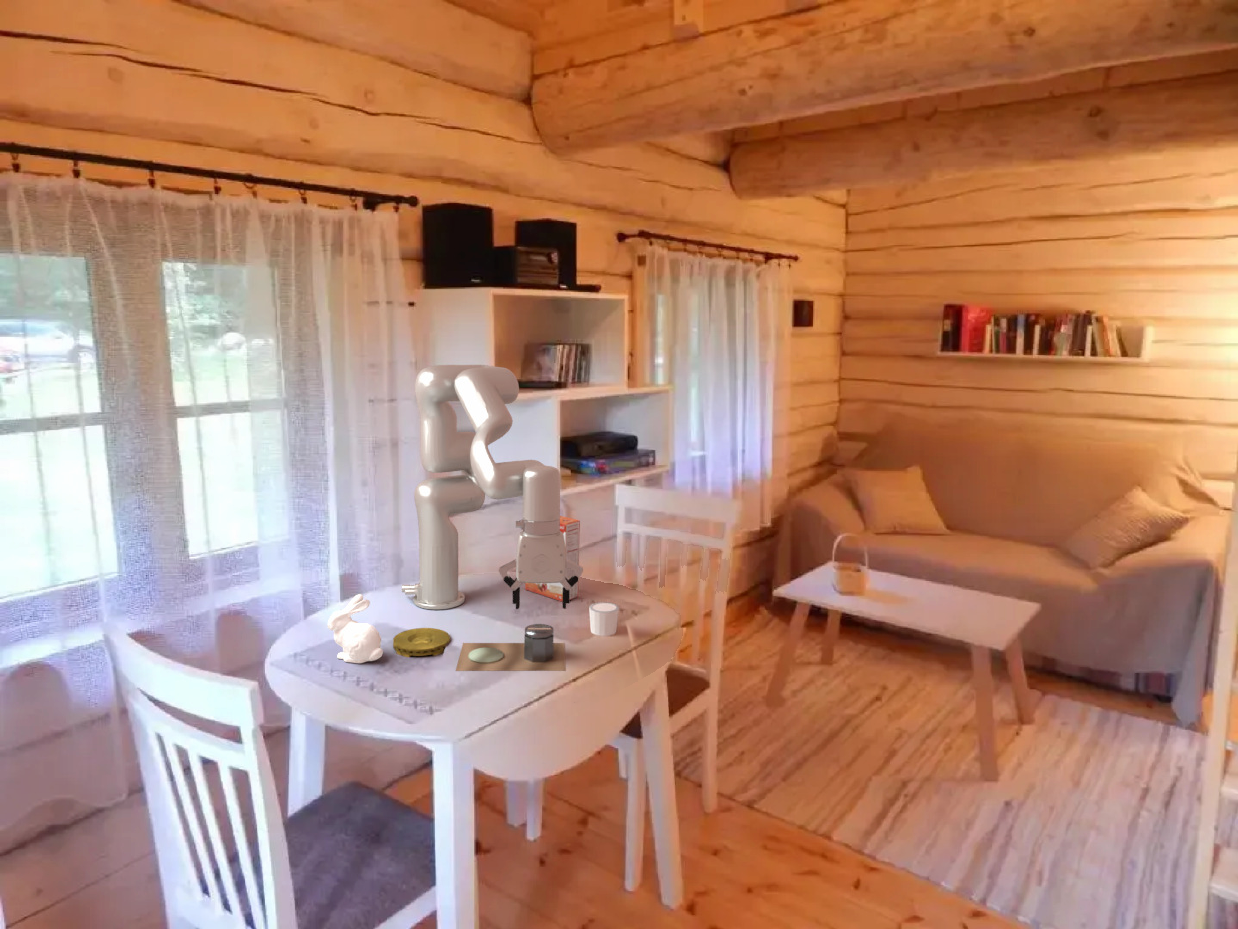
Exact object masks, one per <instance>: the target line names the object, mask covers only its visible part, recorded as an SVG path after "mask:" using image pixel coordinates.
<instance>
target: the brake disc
mask: <svg viewBox="0 0 1238 929" xmlns="http://www.w3.org/2000/svg"><path fill="white" fill-rule="evenodd" d="M450 641H451V636H450V634H449V633H448V632H447V631H445V630H442V629H439V628H433V627H417V628H412V629H407V630H404V631H401V632H399V633H397V634H396V635H395V636H394V637H393V639H392V645H393V646H392V648H393V650H394V651H395V652H396V654H397V655H399V656H402V657H406V658H410V657H411V656H412V657H413V656H414V657H416V656H418V657H420V656H422V657H423V656H428V655H429V656H431V655H432V656H434V657H436V656H437V655H438V656H439V655H441V654H443V653H445V650H446V647H447V646H448V644H450Z"/></svg>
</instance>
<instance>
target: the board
mask: <svg viewBox="0 0 1238 929" xmlns="http://www.w3.org/2000/svg"><path fill="white" fill-rule="evenodd" d="M565 646H566V645H565V642H553V659H551V660H549V661H546V662H531V661H528V660H526V659H524V642H462V646H461V649H460V653H459V657H458V661H457V663H456V664H457V665H456V668H455V672H534V671H535V672H537V671H538V672H544V671H545V672H546V671H547V672H555V671H556V672H557V671H558V672H561V671H562V672H564V671H565V672H566V653H565V652H566V651H565Z"/></svg>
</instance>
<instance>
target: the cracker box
mask: <svg viewBox="0 0 1238 929" xmlns="http://www.w3.org/2000/svg"><path fill="white" fill-rule="evenodd" d="M560 531H561V532H562V533H563V535H564V541H565V550H566V559H568V560H570V561H572V562H574V563H576V564H578V565H580V538H581V537H580V531H581V520H579V519H575V518H571V517H567V516H562V515H560ZM574 573H575V571H574V570H572V569H570V568H568V567H566V577H567V579H568V580H569V579H570V578H571V577H572V576H573V575H574ZM524 584H525V588H524V590H526V591H529V592H531V593H533V594H534V593H535V594H539V595H541V596H544V597H547V598H550V599H553V600H557V601H559V602H562V601H563V585H562V584H561V583H524ZM578 597H579V581H578V582H577V583H575V584H574V585H573V586H572V587H571V589H570V594H569V601H571V600H573V599H576V598H578Z"/></svg>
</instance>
